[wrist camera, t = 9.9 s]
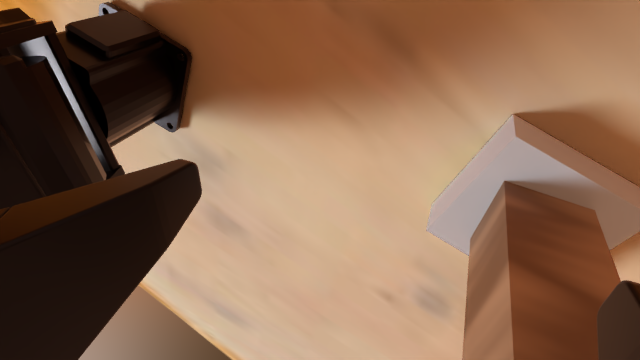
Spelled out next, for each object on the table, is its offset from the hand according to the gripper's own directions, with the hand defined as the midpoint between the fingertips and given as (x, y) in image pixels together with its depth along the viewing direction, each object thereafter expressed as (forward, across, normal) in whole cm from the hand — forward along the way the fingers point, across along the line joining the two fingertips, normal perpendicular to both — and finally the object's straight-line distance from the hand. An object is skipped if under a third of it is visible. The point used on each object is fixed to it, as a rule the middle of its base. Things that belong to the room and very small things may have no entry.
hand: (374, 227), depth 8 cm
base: (+13, -6, +7) cm, 16 cm away
